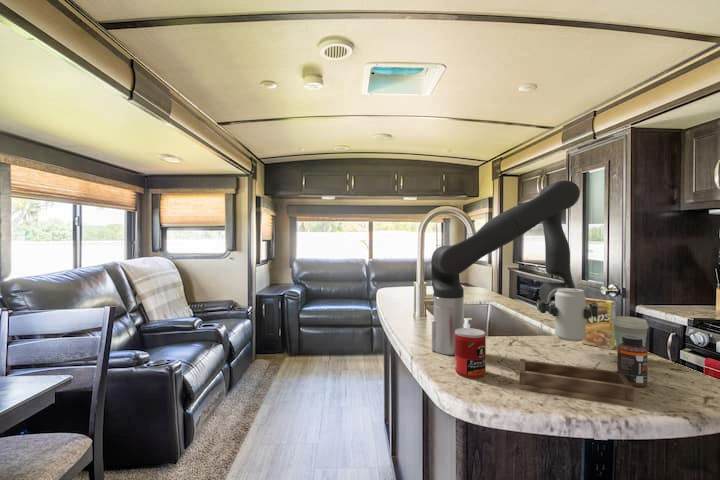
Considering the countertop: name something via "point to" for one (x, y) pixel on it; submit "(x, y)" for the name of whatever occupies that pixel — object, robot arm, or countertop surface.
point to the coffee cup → (629, 328)
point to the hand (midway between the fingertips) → (570, 313)
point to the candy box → (601, 325)
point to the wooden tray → (576, 382)
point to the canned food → (470, 352)
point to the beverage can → (570, 314)
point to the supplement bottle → (633, 360)
